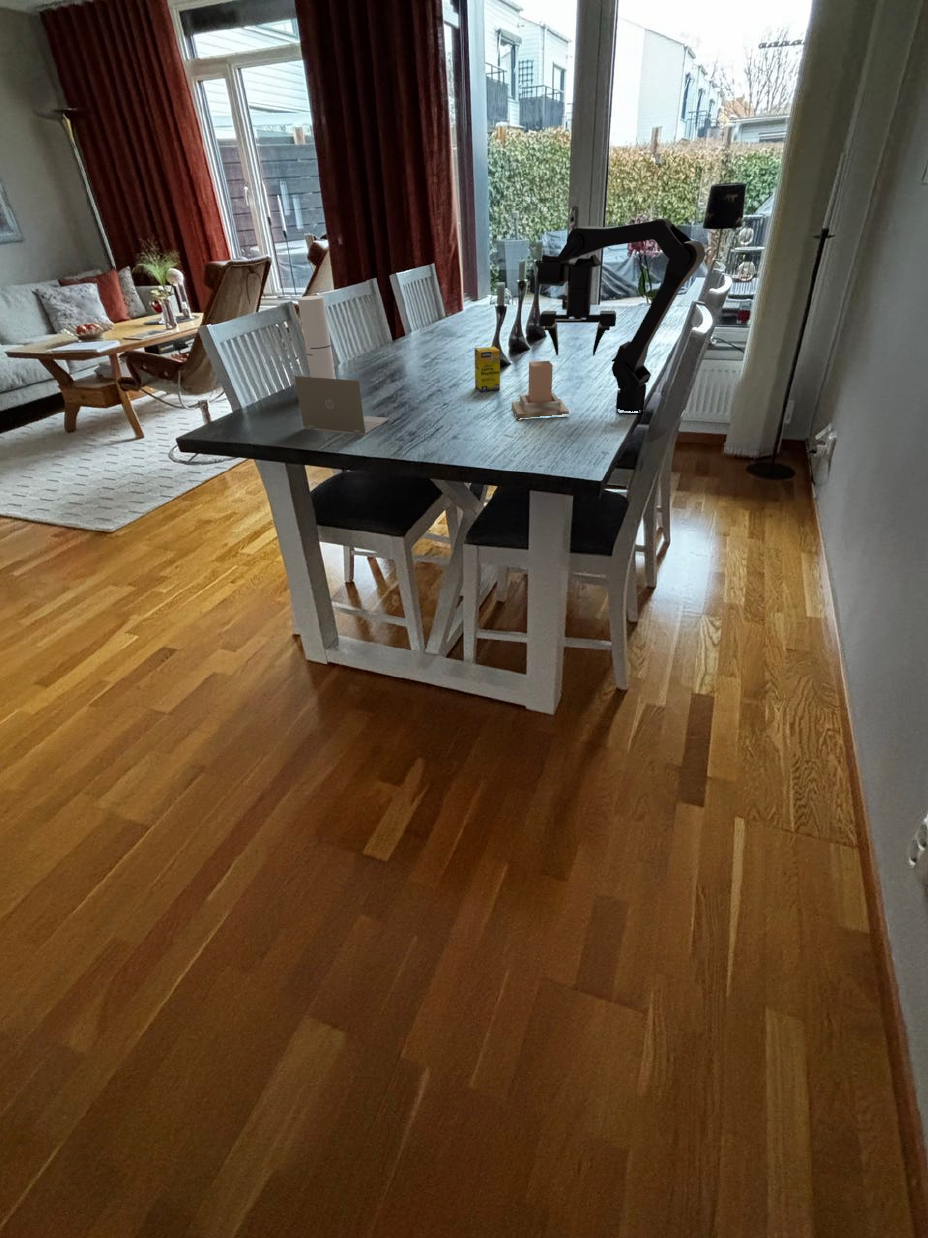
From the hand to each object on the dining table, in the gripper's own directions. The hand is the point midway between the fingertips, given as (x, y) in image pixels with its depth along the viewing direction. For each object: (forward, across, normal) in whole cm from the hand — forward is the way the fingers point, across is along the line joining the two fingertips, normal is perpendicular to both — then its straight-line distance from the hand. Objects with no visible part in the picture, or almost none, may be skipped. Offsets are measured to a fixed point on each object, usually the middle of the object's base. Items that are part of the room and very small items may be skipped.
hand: (575, 355), depth 163 cm
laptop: (+13, +56, +23) cm, 61 cm away
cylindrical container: (+12, +73, -7) cm, 74 cm away
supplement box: (+12, +25, -12) cm, 30 cm away
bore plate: (+12, +8, +9) cm, 17 cm away
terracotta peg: (+12, +8, +9) cm, 17 cm away
